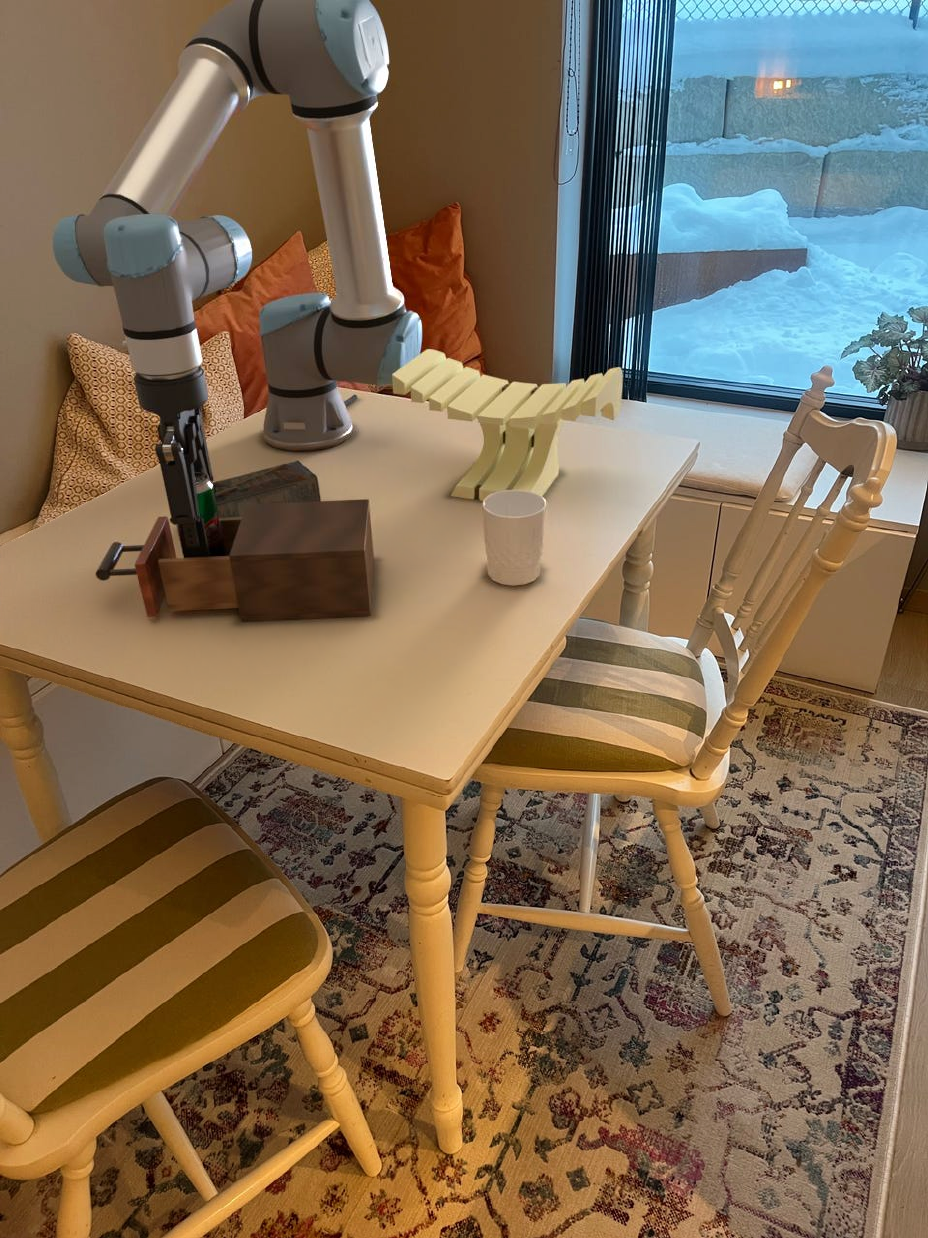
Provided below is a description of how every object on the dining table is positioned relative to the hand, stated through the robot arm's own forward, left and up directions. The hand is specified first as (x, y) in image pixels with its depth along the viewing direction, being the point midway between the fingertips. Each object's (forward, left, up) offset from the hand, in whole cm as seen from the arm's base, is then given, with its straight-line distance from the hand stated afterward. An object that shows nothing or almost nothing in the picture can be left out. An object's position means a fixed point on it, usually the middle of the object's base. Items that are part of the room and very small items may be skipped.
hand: (204, 555), depth 115 cm
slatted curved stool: (-30, +40, -6) cm, 51 cm away
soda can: (0, 0, -2) cm, 2 cm away
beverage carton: (-20, +2, -6) cm, 21 cm away
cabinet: (0, +12, -6) cm, 14 cm away
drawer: (0, -2, -5) cm, 5 cm away
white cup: (-2, +38, -6) cm, 39 cm away
